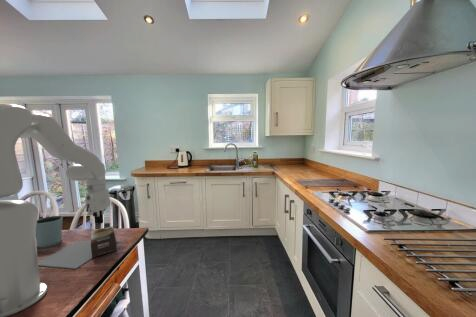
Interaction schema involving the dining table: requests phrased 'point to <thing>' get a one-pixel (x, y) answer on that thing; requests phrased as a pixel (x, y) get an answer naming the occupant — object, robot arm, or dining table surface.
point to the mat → (69, 256)
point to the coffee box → (103, 241)
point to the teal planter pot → (49, 231)
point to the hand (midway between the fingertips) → (99, 223)
